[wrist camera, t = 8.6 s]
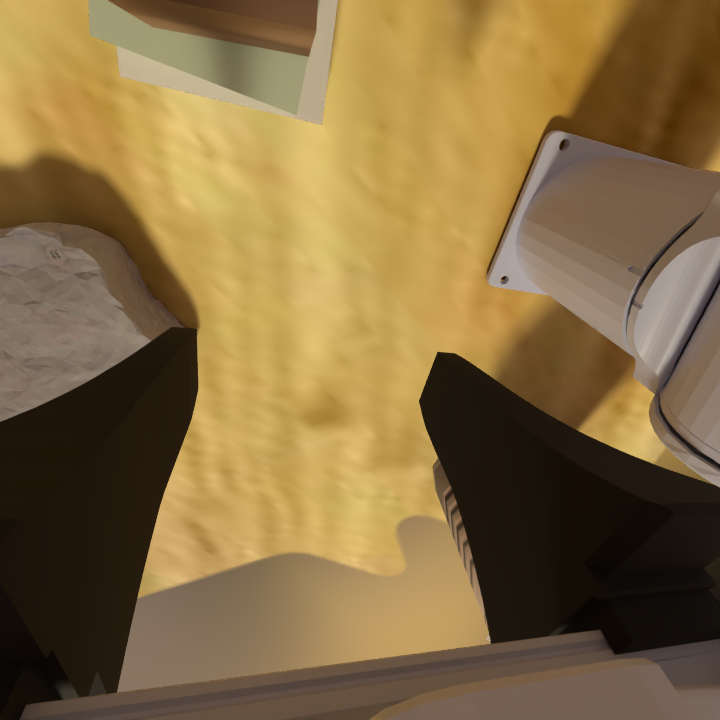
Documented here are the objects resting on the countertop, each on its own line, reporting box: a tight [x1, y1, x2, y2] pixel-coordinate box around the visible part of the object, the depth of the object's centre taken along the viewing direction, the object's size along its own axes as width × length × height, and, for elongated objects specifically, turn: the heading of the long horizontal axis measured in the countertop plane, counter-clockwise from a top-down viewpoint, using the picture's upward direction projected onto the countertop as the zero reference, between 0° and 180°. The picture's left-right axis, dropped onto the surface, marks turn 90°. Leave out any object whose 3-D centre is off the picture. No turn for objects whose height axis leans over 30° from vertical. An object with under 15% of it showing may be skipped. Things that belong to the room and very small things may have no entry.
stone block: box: [0, 222, 184, 422], centre depth 19 cm, size 12×5×10 cm
